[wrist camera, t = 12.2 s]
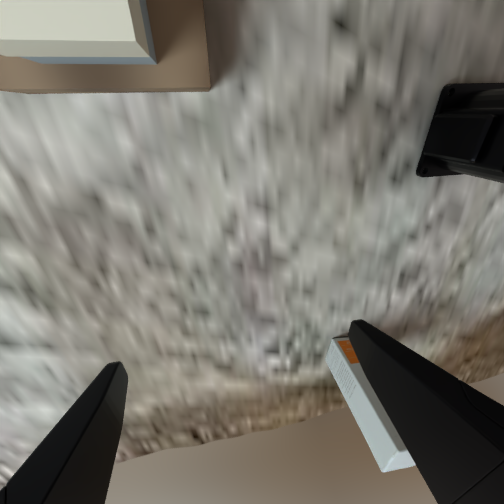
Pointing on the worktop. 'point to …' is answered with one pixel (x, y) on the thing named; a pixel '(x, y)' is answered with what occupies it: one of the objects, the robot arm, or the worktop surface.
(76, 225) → the worktop surface
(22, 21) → the lid plate
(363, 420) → the skincare box
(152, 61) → the base plate
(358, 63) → the worktop surface
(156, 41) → the walnut stand
